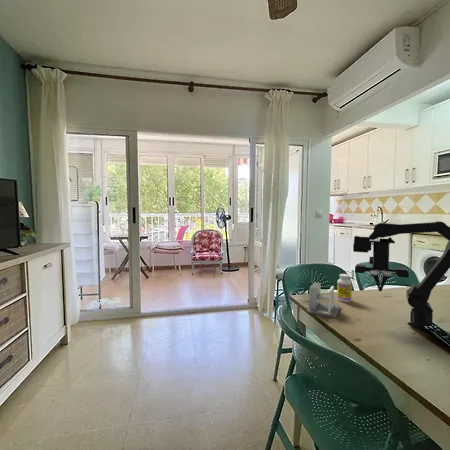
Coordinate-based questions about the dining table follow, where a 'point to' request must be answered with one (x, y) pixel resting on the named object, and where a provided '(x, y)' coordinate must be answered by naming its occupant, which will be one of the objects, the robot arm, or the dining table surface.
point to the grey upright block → (328, 298)
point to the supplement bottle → (344, 288)
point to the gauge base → (325, 310)
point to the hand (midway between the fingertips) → (380, 291)
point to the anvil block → (314, 296)
